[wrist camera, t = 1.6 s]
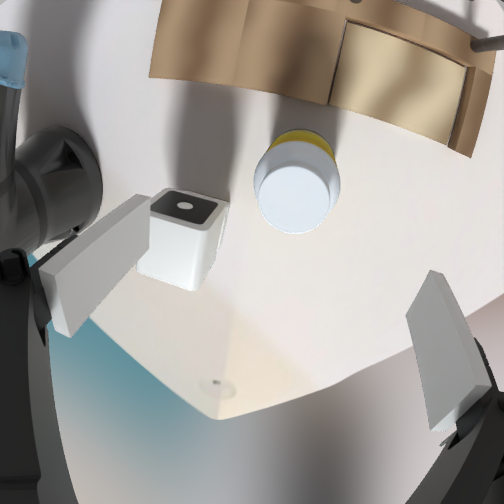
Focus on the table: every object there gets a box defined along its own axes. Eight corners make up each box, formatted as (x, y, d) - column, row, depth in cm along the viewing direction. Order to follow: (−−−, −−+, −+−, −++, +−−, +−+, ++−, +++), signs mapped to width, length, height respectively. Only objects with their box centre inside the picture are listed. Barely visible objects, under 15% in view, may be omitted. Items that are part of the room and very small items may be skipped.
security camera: (237, 190, 32) (207, 231, 24) (224, 246, 36) (195, 300, 28) (181, 175, 33) (134, 210, 24) (173, 231, 36) (132, 278, 28)
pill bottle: (275, 121, 28) (253, 139, 18) (342, 138, 28) (357, 166, 18) (262, 182, 32) (235, 232, 22) (324, 199, 31) (327, 256, 21)
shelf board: (157, 77, 28) (45, 86, 14) (177, -25, 22) (80, -77, 8) (462, 153, 25) (556, 215, 12) (487, 51, 19) (592, 48, 6)
